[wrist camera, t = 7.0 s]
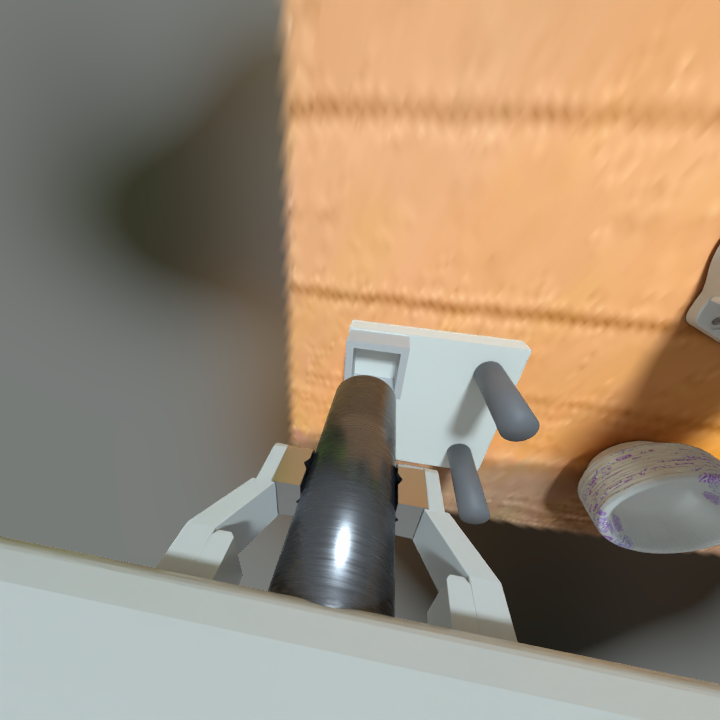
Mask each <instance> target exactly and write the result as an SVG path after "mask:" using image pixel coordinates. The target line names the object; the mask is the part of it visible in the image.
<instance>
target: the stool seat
mask: <svg viewBox="0 0 720 720" xmlns="http://www.w3.org/2000/svg"><path fill="white" fill-rule="evenodd" d="M531 351H532V350H531V349H530V348H529V347H528V346H527V345H526V344H525V343H524V342H523V341H520V340H512V339H504V338H496V337H488V336H480V335H472V334H464V333H456V332H448V331H440V330H432V329H424V328H416V327H408V326H400V325H392V324H384V323H376V322H368V321H360V320H352V323H351V325H350V328H349V335H348V338H347V341H346V357H345V373H344V381H345V380H346V379H348V378H350V377H353V376H357V375H369V376H374V377H377V378H379V379H381V380H383V381H384V382H386V383H387V384H388V385H389V386H390V387H391V388H392V390H393V392H394V394H395V397H396V460H402V461H408V462H414V463H421V464H427V465H433V466H439V467H445V468H450V471H451V476H452V481H453V487H454V492H455V497H456V502H457V507H458V512H459V517H460V518H461V520H462V521H464V522H466V523H469V524H481V523H484V522H486V521H487V520H488V519H489V518H490V513H489V510H488V506H487V503H486V499H485V496H484V493H483V489H482V486H481V483H480V479H479V476H478V473H477V471H478V469H479V467H480V465H481V462H482V460H483V458H484V456H485V454H486V451H487V449H488V447H489V445H490V443H491V440H492V438H493V436H494V434H495V431H496V429H498V431H499V433H500V435H501V436H502V437H503V438H504V439H506V440H509V441H515V442H517V441H524V440H527V439H529V438H531V437H533V436H534V435H535V434H536V433H537V431H538V430H539V421H538V420H537V418H536V417H535V415H534V414H533V412H532V411H531V409H530V408H529V406H528V405H527V403H526V402H525V400H524V399H523V397H522V396H521V394H520V393H519V391H518V390H517V388H516V385H517V383H518V380H519V378H520V376H521V374H522V371H523V369H524V367H525V365H526V363H527V360H528V358H529V356H530V354H531Z"/></svg>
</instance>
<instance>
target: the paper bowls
mask: <svg viewBox="0 0 720 720" xmlns="http://www.w3.org/2000/svg"><path fill="white" fill-rule="evenodd" d="M578 496H579V498H580V500H581V502H582V504H583V506H584V508H585V509H586V511H587V512H588V514H589V516H590V518H591V519H592V521H593V523H594V525H595V526H596V527H597V529H598V531H599V532H600V533H601V534H602V535H603V536H604V537H605V538H606V539H607V540H609V541H610V542H612V543H614V544H616V545H618V546H620V547H623V548H626V549H630V550H634V551H640V552H646V553H681V552H690V551H696V550H701V549H705V548H709V547H713V546H716V545H719V544H720V461H719V460H718V459H717V458H715V457H714V456H713V455H711V454H709V453H708V452H706V451H704V450H702V449H700V448H697V447H693V446H690V445H686V444H681V443H657V442H651V441H632V442H626V443H621V444H617V445H614V446H612V447H609V448H607V449H605V450H604V451H602V452H600V453H599V454H598V455H596V456H595V457H594V458H593V459H592V460H591V462H590V463H589V465H588V467H587V470H586V471H585V472H584V474H583V476H582V477H581V479H580V481H579V483H578Z"/></svg>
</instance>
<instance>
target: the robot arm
mask: <svg viewBox="0 0 720 720" xmlns="http://www.w3.org/2000/svg"><path fill="white" fill-rule="evenodd" d="M686 321H687V322H688V323H689V324H690V325H692V326H693V327H695V328H696V329H698V330H700V331H701V332H703V333H704V334H706V335H708V336H709V337H711V338H713V339H714V340H716V341H717V342H719V343H720V245H719V247H718V249H717V250H716V252H715V254H714V256H713V259H712V261H711V264H710V267H709V270H708V274H707V278H706V282H705V285H704V288H703V290H702V292H701V293H700V295H699V296H698V297H697V299H696V300H695V302H694V303H693V304H692V306H691V307H690V309H689V311H688V313H687V315H686ZM314 455H315V450H312V449H307V448H302V447H297V446H292V445H286V444H281V443H276V444H275V445H274V446H273V448H272V450H271V452H270V454H269V456H268V458H267V459H266V461H265V463H264V465H263V467H262V469H261V470H260V472H259V474H258V476H257V478H252V479H250V480H248V481H247V482H246V483H244V484H243V485H241V486H240V487H238V488H237V489H235V490H234V491H232V492H231V493H229V494H228V495H226V496H225V497H223V498H222V499H220V500H219V501H217V502H216V503H215V504H213V505H212V506H210V507H209V508H207V509H206V510H204V511H203V512H201V513H200V514H199V515H197V516H195V517H194V518H192V519H191V520H190V521H188V522H187V523H186V525H185V526H184V528H183V529H182V530H181V532H180V533H179V535H178V536H177V538H176V539H175V541H174V543H173V544H172V545H171V546H170V548H169V550H168V551H167V552H166V554H165V555H164V557H163V558H162V560H161V561H160V563H159V564H158V565H157V567H156V568H153V567H148V566H143V565H138V564H133V563H128V562H123V561H118V560H114V559H109V558H104V557H99V556H94V555H89V554H84V553H80V552H74V551H70V550H65V549H60V548H55V547H50V546H45V545H41V544H36V543H31V542H26V541H21V540H16V539H11V538H6V537H1V536H0V720H720V684H717V683H712V682H706V681H702V680H697V679H692V678H687V677H682V676H678V675H673V674H668V673H663V672H658V671H653V670H649V669H644V668H639V667H634V666H629V665H624V664H619V663H615V662H610V661H604V660H600V659H595V658H590V657H585V656H581V655H575V654H571V653H566V652H561V651H556V650H551V649H547V648H542V647H537V646H532V645H527V644H522V643H518V642H517V639H516V635H515V631H514V628H513V624H512V621H511V617H510V614H509V610H508V607H507V603H506V599H505V596H504V592H503V589H502V585H501V583H500V581H499V580H498V579H497V577H496V576H495V575H494V573H493V572H492V570H491V569H490V568H489V566H488V565H487V564H486V562H485V561H484V560H483V559H482V557H481V556H480V554H479V553H478V552H477V551H476V549H475V548H474V546H473V545H472V544H471V542H470V541H469V540H468V538H467V537H466V536H465V534H464V533H463V532H462V530H461V529H460V527H459V526H458V525H457V523H456V522H455V521H454V519H453V518H452V517H451V516H450V514H449V513H445V511H444V504H443V498H442V492H441V486H440V480H439V474H438V471H437V470H432V469H426V468H421V467H415V466H409V465H402V464H397V465H396V495H395V535H397V536H402V537H406V538H411V539H413V541H414V544H415V545H416V548H417V550H418V552H419V554H420V556H421V558H422V559H423V562H424V563H425V566H426V568H427V570H428V572H429V574H430V576H431V578H432V579H433V582H434V584H435V586H436V588H437V590H438V592H439V593H438V595H437V597H436V598H435V600H434V602H433V603H432V605H431V607H430V609H429V610H428V612H427V614H428V624H425V623H420V622H415V621H410V620H405V619H401V618H396V617H391V616H386V615H381V614H377V613H372V612H367V611H362V610H352V609H338V608H330V607H326V606H322V605H319V604H316V603H312V602H310V601H307V600H305V599H301V598H298V597H294V596H289V595H284V594H279V593H274V592H270V591H265V590H260V589H255V588H249V587H245V586H240V585H239V583H240V580H241V578H242V576H243V575H242V570H241V566H240V562H239V558H238V554H239V553H240V552H241V551H242V550H243V549H244V548H245V547H246V546H247V545H248V544H249V543H250V542H251V541H252V540H253V539H254V538H255V537H256V536H257V535H258V534H259V533H260V532H261V531H262V530H263V529H264V528H265V527H266V526H267V525H268V524H269V523H270V522H271V521H272V520H273V519H274V518H275V517H276V516H277V515H278V514H284V515H290V516H294V513H295V510H296V507H297V504H298V501H299V499H300V496H301V493H302V490H303V487H304V484H305V481H306V478H307V475H308V472H309V469H310V467H311V464H312V461H313V458H314Z"/></svg>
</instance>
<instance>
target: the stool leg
mask: <svg viewBox="0 0 720 720" xmlns="http://www.w3.org/2000/svg"><path fill="white" fill-rule="evenodd" d="M395 495H396V397H395V394H394V392H393V390H392V388H391V387H390V386H389V385H388V384H387V383H386V382H384V381H383V380H381V379H379V378H377V377H374V376H369V375H357V376H353V377H350V378H348V379H346V380H345V381H343V382H342V383H341V384H340V385H339V387H338V388H337V391H336V393H335V396H334V399H333V402H332V405H331V408H330V411H329V414H328V417H327V420H326V423H325V426H324V428H323V431H322V434H321V437H320V440H319V443H318V446H317V449H316V452H315V455H314V458H313V461H312V464H311V467H310V469H309V472H308V475H307V478H306V481H305V484H304V487H303V490H302V493H301V496H300V499H299V501H298V504H297V507H296V510H295V513H294V516H293V519H292V522H291V525H290V528H289V531H288V534H287V537H286V539H285V542H284V545H283V548H282V551H281V554H280V557H279V560H278V563H277V566H276V569H275V572H274V575H273V578H272V580H271V583H270V586H269V589H268V591H270V592H274V593H279V594H284V595H289V596H294V597H298V598H301V599H305V600H307V601H310V602H312V603H316V604H319V605H322V606H326V607H330V608H338V609H352V610H362V611H367V612H372V613H377V614H381V615H386V616H391V617H395Z"/></svg>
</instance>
